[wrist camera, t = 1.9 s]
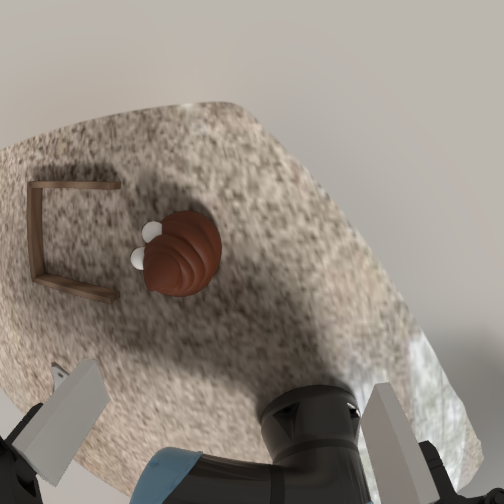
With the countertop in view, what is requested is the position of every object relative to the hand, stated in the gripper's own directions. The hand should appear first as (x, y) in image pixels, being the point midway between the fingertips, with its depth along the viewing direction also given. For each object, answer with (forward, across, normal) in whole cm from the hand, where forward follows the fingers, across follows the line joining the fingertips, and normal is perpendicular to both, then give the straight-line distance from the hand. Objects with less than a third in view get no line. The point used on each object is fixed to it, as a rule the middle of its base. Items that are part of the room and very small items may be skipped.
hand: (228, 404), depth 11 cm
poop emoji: (+21, +8, -1) cm, 22 cm away
